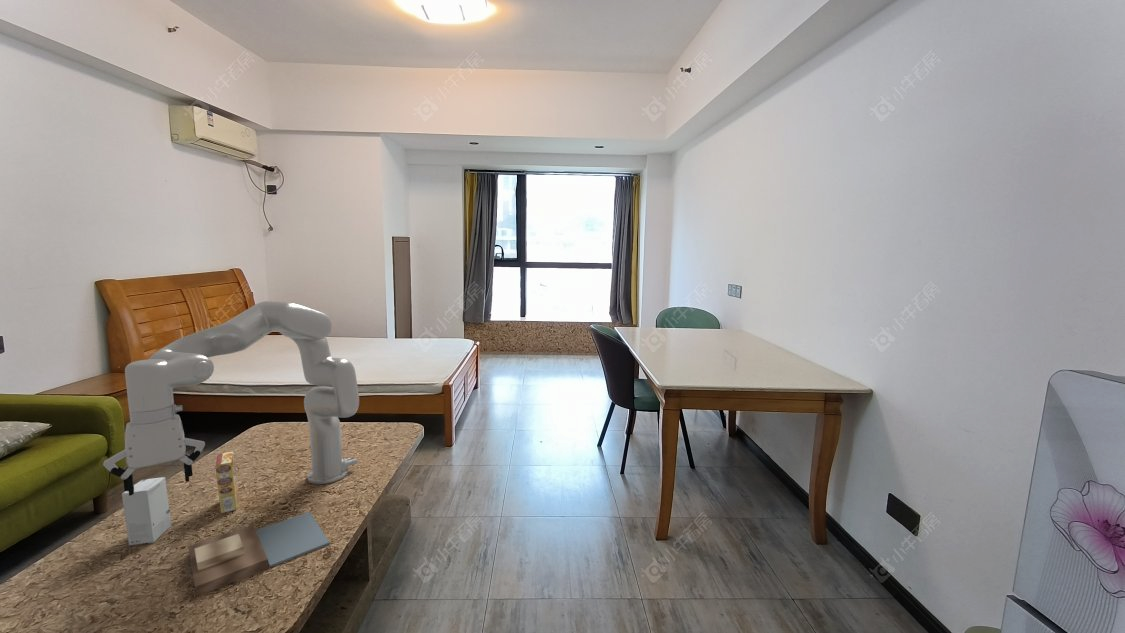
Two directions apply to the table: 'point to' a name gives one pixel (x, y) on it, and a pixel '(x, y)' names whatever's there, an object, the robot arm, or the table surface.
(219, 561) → the tile
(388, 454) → the table surface
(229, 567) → the block
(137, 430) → the robot arm
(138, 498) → the skincare box
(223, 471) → the candy box
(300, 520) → the mat
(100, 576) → the table surface
